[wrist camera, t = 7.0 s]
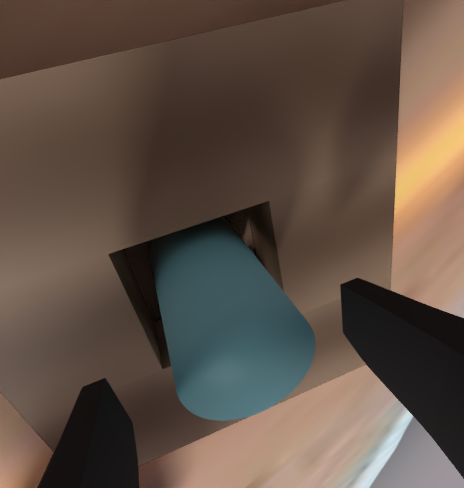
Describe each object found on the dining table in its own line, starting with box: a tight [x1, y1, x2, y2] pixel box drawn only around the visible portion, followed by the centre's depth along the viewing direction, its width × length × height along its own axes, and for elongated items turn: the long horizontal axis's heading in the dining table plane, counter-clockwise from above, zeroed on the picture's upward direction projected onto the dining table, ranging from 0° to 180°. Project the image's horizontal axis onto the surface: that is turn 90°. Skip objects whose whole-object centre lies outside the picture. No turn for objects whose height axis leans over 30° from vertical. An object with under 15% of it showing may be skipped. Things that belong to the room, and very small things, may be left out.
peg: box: [150, 217, 316, 421], centre depth 12 cm, size 4×4×7 cm
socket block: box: [0, 0, 403, 466], centre depth 14 cm, size 16×16×3 cm
